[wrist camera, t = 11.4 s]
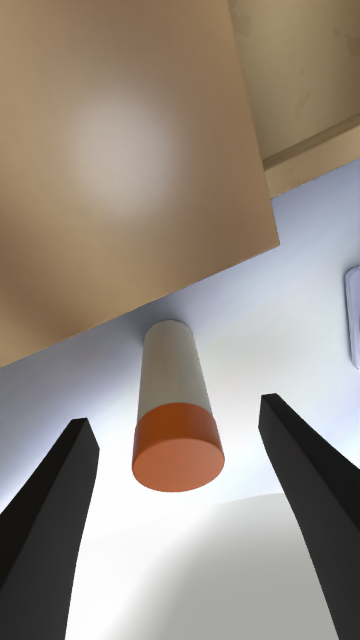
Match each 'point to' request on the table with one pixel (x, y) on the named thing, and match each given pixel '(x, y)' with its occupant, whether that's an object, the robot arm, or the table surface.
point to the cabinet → (120, 161)
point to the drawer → (301, 84)
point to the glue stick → (174, 415)
